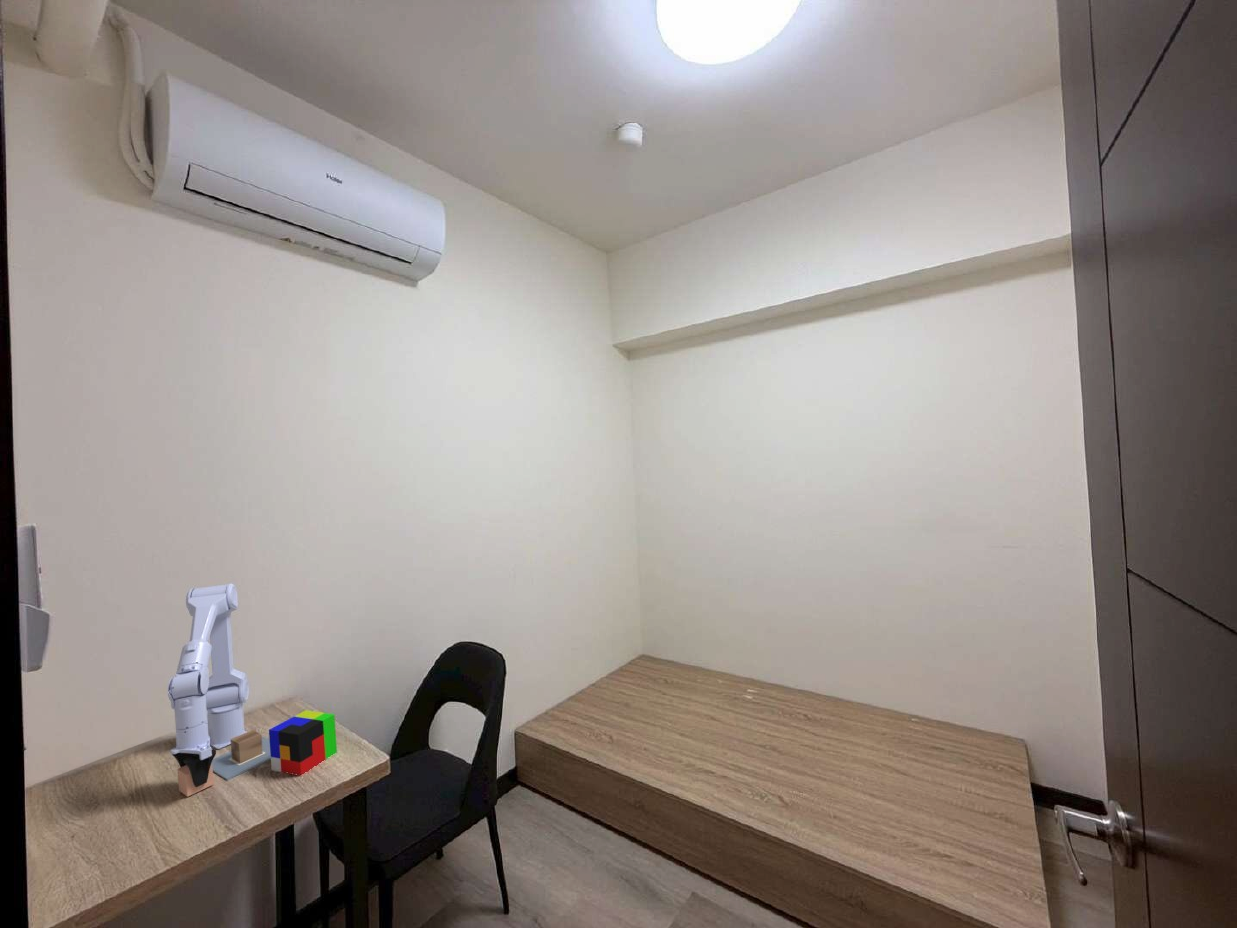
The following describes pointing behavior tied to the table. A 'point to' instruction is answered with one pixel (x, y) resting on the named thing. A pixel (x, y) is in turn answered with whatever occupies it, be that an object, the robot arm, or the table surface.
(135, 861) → the table surface
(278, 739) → the puzzle toy
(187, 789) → the terracotta block
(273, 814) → the table surface
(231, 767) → the plate
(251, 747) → the walnut block
